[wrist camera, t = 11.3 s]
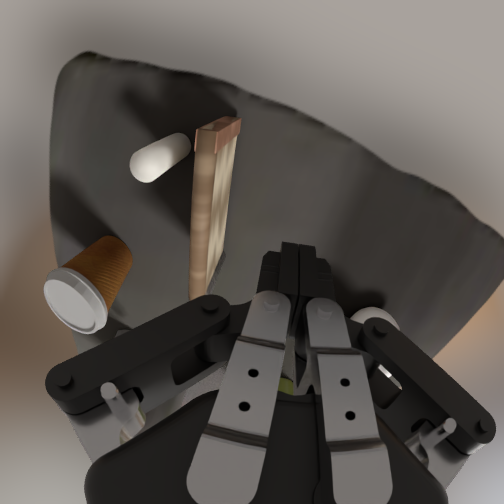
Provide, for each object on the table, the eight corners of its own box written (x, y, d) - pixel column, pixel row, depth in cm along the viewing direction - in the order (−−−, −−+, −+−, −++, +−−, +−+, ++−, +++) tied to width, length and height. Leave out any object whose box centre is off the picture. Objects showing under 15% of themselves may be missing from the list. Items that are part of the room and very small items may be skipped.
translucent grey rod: (226, 261, 37) (200, 331, 27) (212, 260, 37) (183, 329, 27) (224, 248, 36) (196, 318, 26) (210, 248, 36) (178, 316, 26)
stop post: (193, 157, 30) (163, 180, 23) (168, 160, 30) (133, 184, 24) (189, 131, 28) (156, 147, 22) (164, 134, 29) (126, 152, 22)
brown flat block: (224, 251, 35) (202, 304, 27) (211, 248, 35) (186, 301, 27) (241, 118, 26) (217, 132, 18) (225, 116, 26) (194, 130, 18)
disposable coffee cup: (129, 222, 35) (78, 276, 25) (151, 280, 40) (114, 340, 30) (80, 228, 37) (30, 275, 27) (103, 280, 42) (63, 332, 32)
